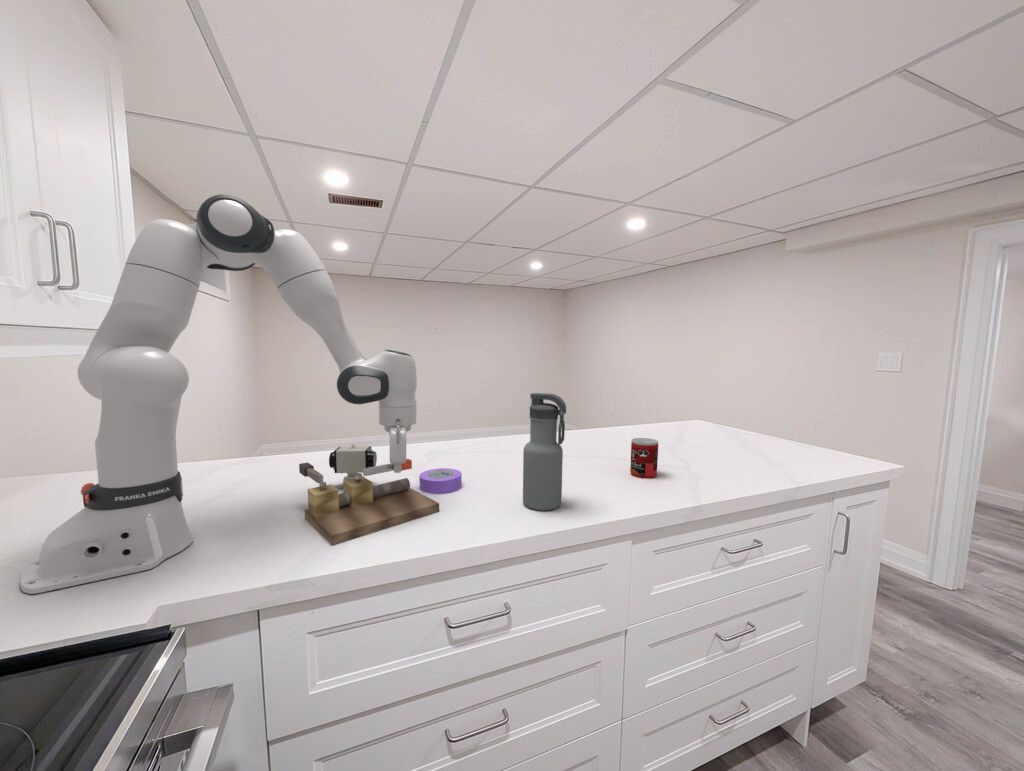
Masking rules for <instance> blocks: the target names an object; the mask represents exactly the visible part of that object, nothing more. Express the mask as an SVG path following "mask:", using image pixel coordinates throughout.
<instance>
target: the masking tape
mask: <svg viewBox="0 0 1024 771" xmlns="http://www.w3.org/2000/svg"><path fill="white" fill-rule="evenodd" d="M418 479H419V490H420V491H421V492H423V493H427V494H432V495H443V494H450V493H453V492H456V491H459V490H460V489H461V488H462V487H463V486H462V482H463V480H462V472H461V471H460V470H459V469H455V468H446V467H445V468H442V467H441V468H433V469H428V470H424V471H422V472H421V473H420V474H419V478H418Z"/></svg>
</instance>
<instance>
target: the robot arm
mask: <svg viewBox="0 0 1024 771" xmlns="http://www.w3.org/2000/svg"><path fill="white" fill-rule="evenodd" d="M255 265H258V266H259V267H260V268H262V269H263V270H265V272H267V274H268V275H269V276H270V278H271V280H272V282H273V284H274V286H275V287H276V289H277V292H279V294H280V296H281V298H282V299H283V301H284V302H285V303H286V305H287V306H288V307H289V309H290V310H291V311H292V312H293V313H294V314H295V316H296V317H297V318H299V319H300V320H301V321H303V322H304V323H305V324H306V325H308V326H309V327H310V328H312V329H313V331H315V332H316V333H317V335H319V337H320V338H321V340H322V341H323V343H324V344H325V346H326V347H327V349H328V350H329V353H330V354H331V356H332V358H333V360H334V361H335V363H336V365H337V366H338V369H339V375H338V378H337V379H336V380H337V381H336V390H337V392H338V395H339V396H340V398H342V399H343V400H344V401H345V402H347V403H350V404H352V405H359V406H360V405H365V404H366V405H367V404H369V403H370V404H371V403H374V402H378V422H379V423H378V424H379V425H380V426H384V429H383V430H384V431H385V432H388V434H389V436H388V437H389V464H390V463H392V464H394V471H393V473H394V474H395V473H396V474H397V473H399V474H400V473H401V472H402V471H401V467H402V463H405V462H406V459H407V432H410V431H411V430H412V425H416V424H417V400H416V390H417V387H418V384H417V383H418V382H417V376H418V375H417V365H416V362H415V359H414V357H413V356H412V355H411V354H409V353H406V352H401V351H399V350H398V351H397V350H392V349H384V350H382V351H381V352H379V353H378V354H376V355H374V356H372V357H370V358H368V359H366V358H365V357H364V355H362V353H361V351H360V350H359V348H358V346H357V345H356V342H355V341H354V339H353V337H352V335H351V334H350V332H349V330H348V328H347V325H346V323H345V320H344V318H343V312H342V310H341V309H342V308H341V304H340V301H339V298H338V294H337V292H336V288H335V286H334V284H333V281H332V279H331V276H330V275H329V273H328V270H327V269H326V267H325V266H324V263H323V262H322V261H321V259H320V257H319V256H318V254H317V253H316V251H315V250H314V248H313V247H312V246H311V244H310V242H308V240H307V239H306V238H305V237H304V236H303V235H302V234H301V233H300V232H298V231H297V230H294V229H290V228H289V229H288V228H281V229H276V230H275V228H274V225H273V223H272V222H271V220H270V219H268V218H266V217H265V216H263V215H262V214H261V213H259V212H258V211H257V210H256V209H255V208H254V207H253V206H251V204H249V203H248V202H246V201H245V200H243V199H242V198H239V197H237V196H235V195H232V194H225V193H224V194H223V193H222V194H215V195H213V196H209V198H207V199H205V200H204V201H203V202H202V203H201V205H200V206H199V208H198V211H197V213H196V222H195V223H190V224H189V223H182V222H180V221H176V220H172V219H166V218H158V219H153V220H151V221H149V222H147V224H145V226H144V227H143V229H142V230H141V231H140V232H139V234H138V236H137V238H135V241H134V243H133V245H132V246H131V248H130V251H129V254H128V255H127V259H126V261H125V264H124V267H123V269H122V272H121V276H120V278H119V281H118V285H117V287H116V290H115V293H114V295H113V298H112V301H111V304H110V306H109V309H108V311H107V312H106V315H105V317H104V318H103V320H102V321H101V323H100V325H99V326H98V329H97V330H96V333H95V334H94V336H93V338H92V340H91V342H90V344H89V346H88V348H87V350H86V352H85V355H84V357H83V358H82V360H81V361H80V363H79V364H78V367H77V378H78V382H79V384H80V385H81V386H82V388H83V389H84V390H85V392H87V394H89V395H91V396H92V397H93V398H95V399H98V400H100V403H101V410H100V420H99V427H98V432H97V436H96V438H95V440H94V446H95V448H94V449H95V459H96V470H97V480H98V481H97V482H98V483H96V484H95V483H92V482H88V483H85V484H84V485H83V486H81V490H80V494H81V496H82V502H83V503H82V504H83V506H84V508H82V509H81V510H79V511H78V512H76V514H74V515H73V516H71V517H70V518H69V519H68V520H66V521H64V522H63V523H62V524H60V525H59V526H57V527H56V528H55V529H53V531H51V532H50V533H49V534H48V536H47V537H46V538H45V540H44V542H43V544H42V546H41V549H40V553H39V559H37V560H35V561H34V562H33V563H31V564H30V565H28V566H27V567H26V569H24V571H23V572H22V574H21V577H20V582H19V584H20V585H19V586H20V588H19V589H20V590H21V591H22V592H24V593H25V594H30V595H35V594H41V593H46V592H50V591H53V590H58V589H64V588H69V587H74V586H76V585H82V584H87V583H91V582H97V581H101V580H106V579H110V578H115V577H121V576H125V575H129V574H130V575H131V574H133V573H138V572H143V571H148V570H150V569H153V568H155V567H157V566H159V565H160V564H161V563H163V561H165V560H166V559H168V558H170V557H172V556H174V555H176V554H179V553H180V552H181V551H184V550H185V549H187V548H188V547H189V546H190V545H191V544H192V543H193V541H194V537H193V534H192V533H191V530H190V528H189V526H188V523H187V520H186V517H185V513H184V509H183V508H184V507H183V503H182V502H183V497H184V487H183V478H182V474H181V472H180V471H179V470H178V456H177V440H176V438H177V427H178V426H177V424H178V418H179V414H180V410H181V409H180V408H181V402H182V396H183V395H184V393H185V392H186V390H187V388H188V386H189V383H190V382H189V380H190V379H189V378H190V377H189V372H188V369H187V368H186V365H185V364H184V363H183V362H182V361H181V360H180V359H179V358H177V357H176V356H174V355H173V354H171V353H170V350H171V349H172V347H173V346H174V344H175V342H176V340H177V339H178V337H179V336H180V335H181V333H182V332H183V331H184V330H185V329H186V328H187V326H188V325H189V321H190V318H191V315H192V311H193V308H194V304H195V302H196V299H197V295H198V291H199V288H200V285H201V281H202V278H203V275H204V273H205V271H206V270H207V269H209V270H223V271H231V272H242V271H246V270H249V269H251V268H252V267H254V266H255Z"/></svg>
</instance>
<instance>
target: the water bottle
mask: <svg viewBox="0 0 1024 771" xmlns="http://www.w3.org/2000/svg"><path fill="white" fill-rule="evenodd" d="M530 399H531V401H530V402H531V403H530V404H531V405H530V406H529V419H530V420H529V421H530V426H529V427H530V429H529V430H530V432H529V435H530V436H529V441H528V442H527V443H526V444H525V445H524V446H523V456H522V457H523V459H522V460H523V462H522V467H523V468H522V469H523V470H522V474H523V475H522V479H523V480H522V503H523V504H524V506H526V507H527V508H528V509H531V510H535V511H552V510H553V511H554V510H555V509H558V508H559V507H560V506H561V504H562V496H563V495H562V492H563V490H562V489H563V459H564V458H563V455H564V453H563V448H562V444H563V442H564V440H565V433H566V432H565V431H566V430H565V428H566V426H565V425H566V422H565V414H566V413H567V404H566V403H565V401H564V399H563V398H562V397H560V396H559V395H557V394H554V393H546V392H545V393H544V392H543V393H542V392H532V393H530ZM544 400H545V401H550V402H553V403H555V404H553V403H547V402H544ZM558 418H559V424H558V425H557V423H558ZM557 426H558V427H557ZM557 428H558V429H557ZM557 430H558V432H557ZM557 435H558V436H557Z"/></svg>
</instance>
